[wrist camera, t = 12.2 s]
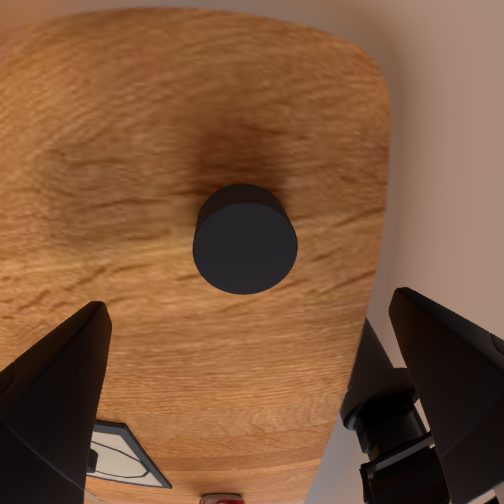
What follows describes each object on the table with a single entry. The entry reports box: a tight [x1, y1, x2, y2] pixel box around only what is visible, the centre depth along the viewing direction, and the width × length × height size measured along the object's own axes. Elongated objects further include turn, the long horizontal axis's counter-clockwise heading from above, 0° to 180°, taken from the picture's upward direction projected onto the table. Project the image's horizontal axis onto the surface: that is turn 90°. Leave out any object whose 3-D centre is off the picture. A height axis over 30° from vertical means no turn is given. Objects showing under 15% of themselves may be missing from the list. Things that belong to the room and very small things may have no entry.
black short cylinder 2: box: [193, 184, 298, 295], centre depth 12 cm, size 4×4×2 cm
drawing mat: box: [86, 420, 172, 489], centre depth 24 cm, size 35×20×1 cm, turn 90°
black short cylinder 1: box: [87, 448, 98, 473], centre depth 23 cm, size 4×4×2 cm
